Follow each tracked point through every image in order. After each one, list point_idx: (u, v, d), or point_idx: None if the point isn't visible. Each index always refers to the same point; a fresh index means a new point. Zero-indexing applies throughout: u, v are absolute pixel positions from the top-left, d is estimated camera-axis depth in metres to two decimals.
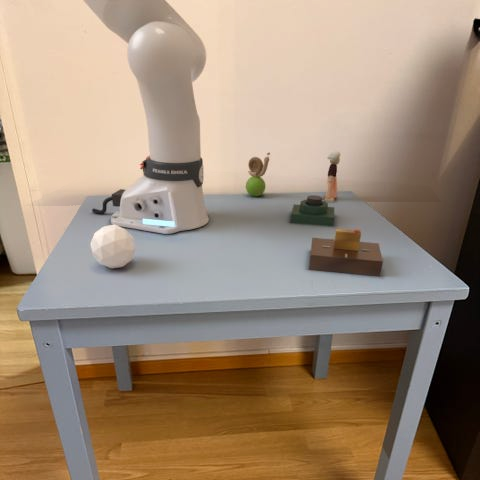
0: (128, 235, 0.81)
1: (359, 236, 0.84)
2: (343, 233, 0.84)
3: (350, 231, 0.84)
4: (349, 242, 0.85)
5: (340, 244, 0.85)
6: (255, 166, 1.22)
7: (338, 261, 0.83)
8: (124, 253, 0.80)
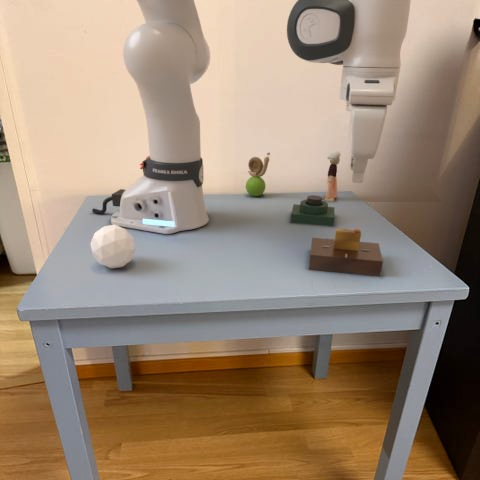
0: (128, 235, 0.81)
1: (359, 236, 0.84)
2: (343, 233, 0.84)
3: (350, 231, 0.84)
4: (349, 242, 0.85)
5: (340, 244, 0.85)
6: (255, 166, 1.22)
7: (338, 261, 0.83)
8: (124, 253, 0.80)
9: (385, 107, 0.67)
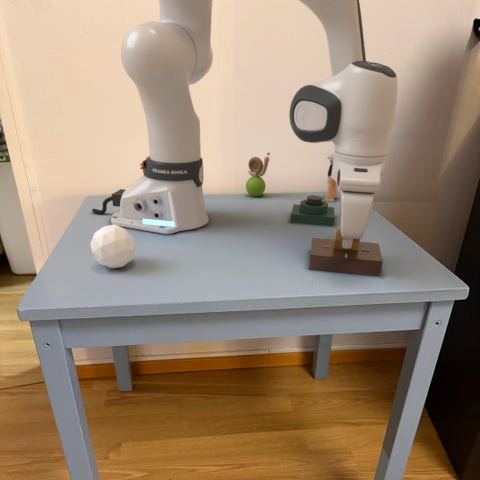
0: (128, 235, 0.81)
1: None
2: None
3: None
4: None
5: (340, 244, 0.85)
6: (255, 166, 1.22)
7: (338, 261, 0.83)
8: (124, 253, 0.80)
9: (372, 194, 0.72)
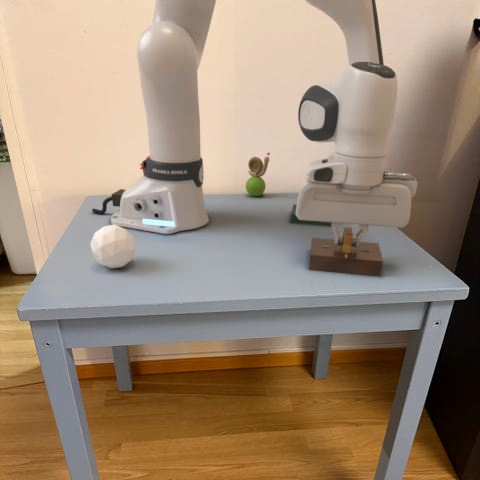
0: (128, 235, 0.81)
1: (344, 237, 0.83)
2: (344, 231, 0.86)
3: (347, 231, 0.84)
4: (343, 241, 0.85)
5: None
6: (255, 166, 1.22)
7: (338, 261, 0.83)
8: (124, 253, 0.80)
9: (308, 182, 0.79)
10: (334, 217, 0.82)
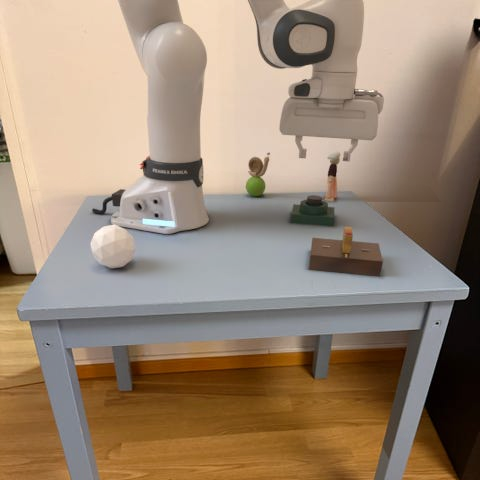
0: (128, 235, 0.81)
1: (344, 237, 0.83)
2: (344, 231, 0.86)
3: (347, 231, 0.84)
4: (343, 241, 0.85)
5: (342, 241, 0.87)
6: (255, 166, 1.22)
7: (338, 261, 0.83)
8: (124, 253, 0.80)
9: (290, 98, 0.92)
10: (313, 131, 0.94)
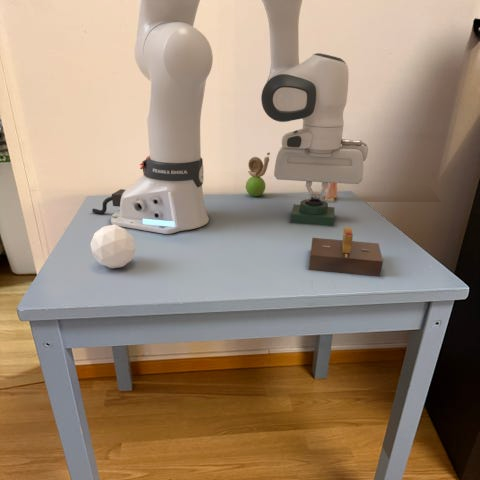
0: (128, 235, 0.81)
1: (344, 237, 0.83)
2: (344, 231, 0.86)
3: (347, 231, 0.84)
4: (343, 241, 0.85)
5: (342, 241, 0.87)
6: (255, 166, 1.22)
7: (338, 261, 0.83)
8: (124, 253, 0.80)
9: (283, 148, 1.01)
10: (304, 177, 1.04)
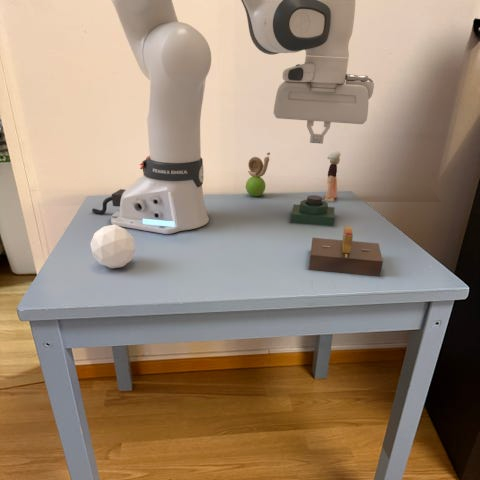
0: (128, 235, 0.81)
1: (344, 237, 0.83)
2: (344, 231, 0.86)
3: (347, 231, 0.84)
4: (343, 241, 0.85)
5: (342, 241, 0.87)
6: (255, 166, 1.22)
7: (338, 261, 0.83)
8: (124, 253, 0.80)
9: (284, 82, 0.95)
10: (306, 115, 0.98)
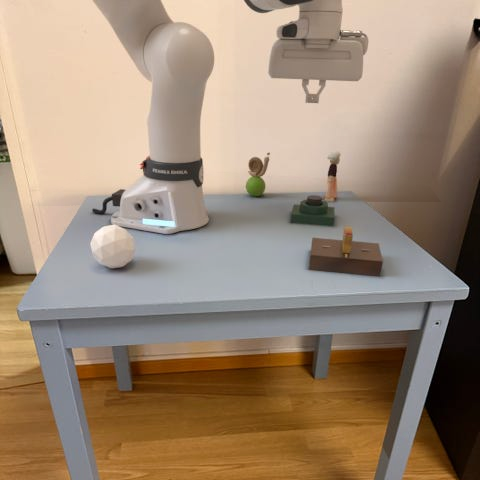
0: (128, 235, 0.81)
1: (344, 237, 0.83)
2: (344, 231, 0.86)
3: (347, 231, 0.84)
4: (343, 241, 0.85)
5: (342, 241, 0.87)
6: (255, 166, 1.22)
7: (338, 261, 0.83)
8: (124, 253, 0.80)
9: (278, 40, 0.95)
10: (300, 74, 0.97)
